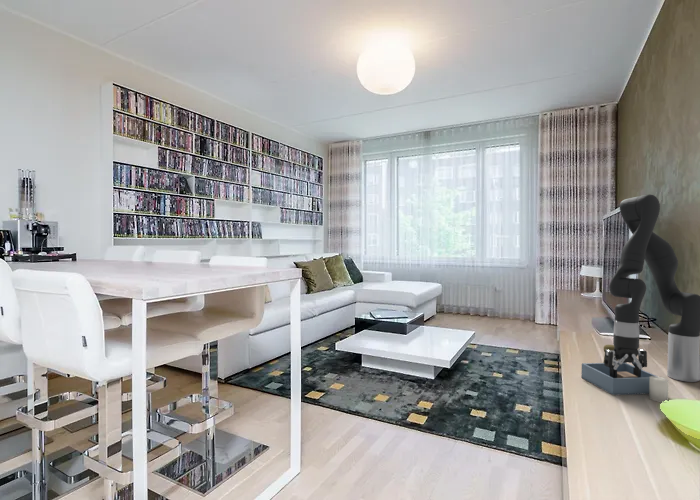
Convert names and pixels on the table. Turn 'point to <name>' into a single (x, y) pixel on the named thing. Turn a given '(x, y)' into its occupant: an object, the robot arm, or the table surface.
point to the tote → (616, 379)
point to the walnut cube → (625, 375)
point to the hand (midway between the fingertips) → (625, 378)
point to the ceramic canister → (658, 388)
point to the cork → (609, 347)
